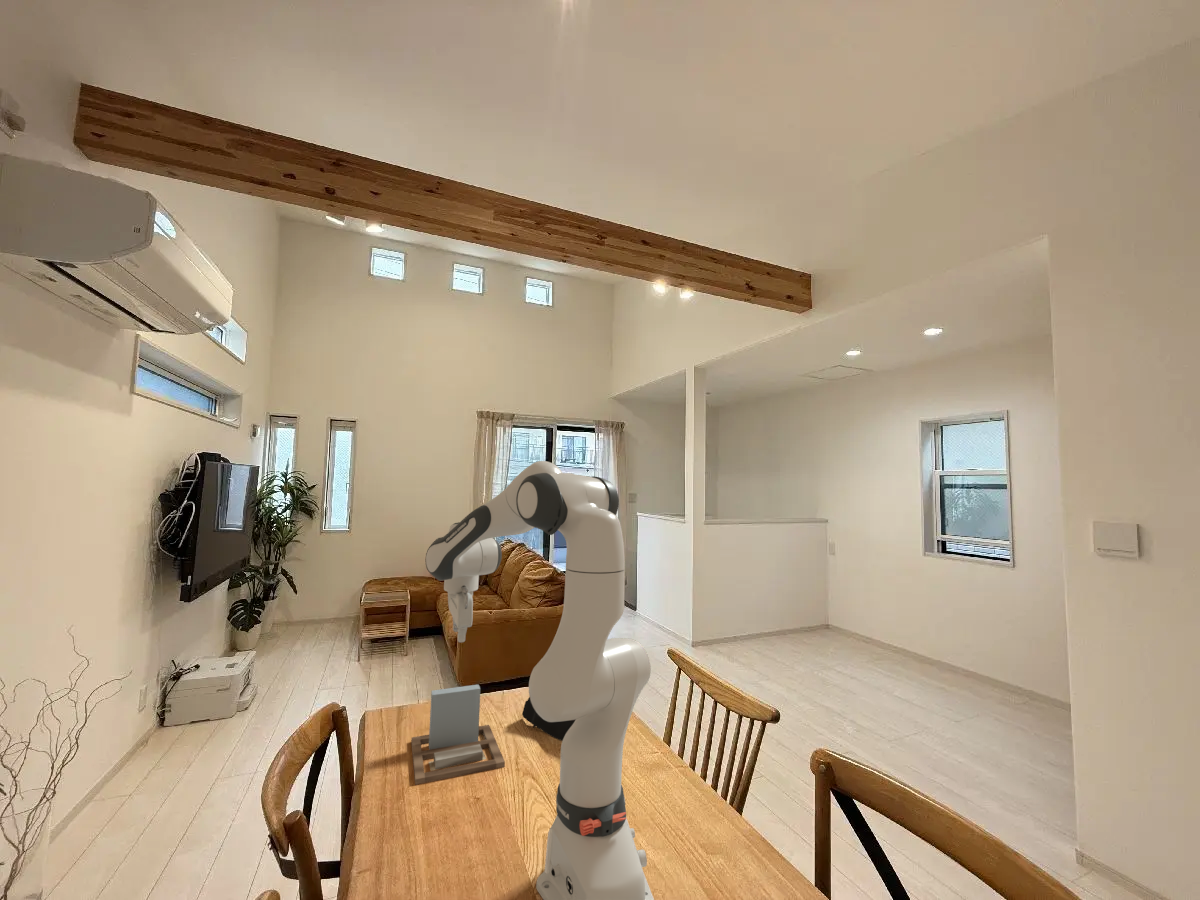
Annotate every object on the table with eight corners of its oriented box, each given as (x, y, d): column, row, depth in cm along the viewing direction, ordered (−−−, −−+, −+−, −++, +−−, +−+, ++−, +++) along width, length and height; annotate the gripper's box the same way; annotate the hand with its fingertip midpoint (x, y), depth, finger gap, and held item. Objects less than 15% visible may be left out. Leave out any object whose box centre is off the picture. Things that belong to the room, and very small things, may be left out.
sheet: (477, 748, 127) (480, 688, 128) (429, 757, 122) (432, 695, 123) (475, 742, 129) (478, 684, 131) (428, 751, 125) (431, 690, 126)
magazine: (625, 721, 124) (541, 662, 141) (618, 726, 122) (534, 665, 139) (608, 781, 126) (527, 716, 143) (601, 788, 123) (519, 720, 140)
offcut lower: (485, 767, 119) (486, 758, 119) (430, 779, 113) (430, 770, 114) (482, 759, 123) (482, 750, 123) (428, 770, 117) (428, 762, 117)
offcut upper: (482, 759, 119) (482, 751, 119) (435, 769, 114) (435, 760, 114) (479, 752, 122) (479, 744, 122) (433, 761, 117) (434, 752, 118)
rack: (504, 772, 116) (504, 761, 116) (414, 791, 108) (415, 779, 108) (488, 734, 134) (489, 724, 134) (411, 747, 126) (411, 737, 126)
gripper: (480, 589, 121) (477, 647, 120) (468, 575, 140) (465, 625, 139) (453, 591, 119) (450, 649, 117) (445, 576, 137) (442, 627, 136)
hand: (458, 636), depth 128 cm, fingers open, 8 cm apart
